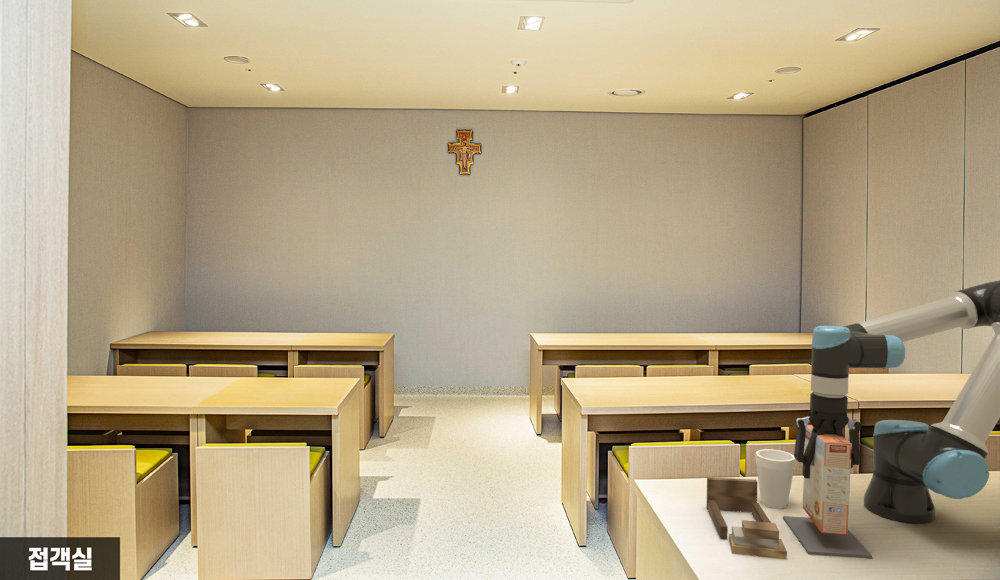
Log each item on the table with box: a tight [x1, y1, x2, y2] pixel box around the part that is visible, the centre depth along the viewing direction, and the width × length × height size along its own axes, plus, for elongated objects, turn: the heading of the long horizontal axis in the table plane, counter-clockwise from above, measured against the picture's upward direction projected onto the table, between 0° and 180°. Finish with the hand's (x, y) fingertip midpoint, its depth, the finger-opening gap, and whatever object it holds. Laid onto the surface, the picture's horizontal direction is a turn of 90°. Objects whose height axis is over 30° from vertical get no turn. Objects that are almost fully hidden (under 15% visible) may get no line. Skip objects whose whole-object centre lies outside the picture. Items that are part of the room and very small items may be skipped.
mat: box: [782, 515, 874, 559], centre depth 140 cm, size 13×18×1 cm
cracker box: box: [802, 424, 852, 535], centre depth 139 cm, size 14×6×21 cm, turn 168°
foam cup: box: [754, 448, 796, 510], centre depth 158 cm, size 10×9×13 cm
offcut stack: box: [728, 519, 788, 561], centre depth 134 cm, size 11×6×6 cm, turn 76°
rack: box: [706, 476, 772, 540], centre depth 147 cm, size 12×18×8 cm
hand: (825, 492), depth 139 cm, fingers closed on cracker box, 6 cm apart
